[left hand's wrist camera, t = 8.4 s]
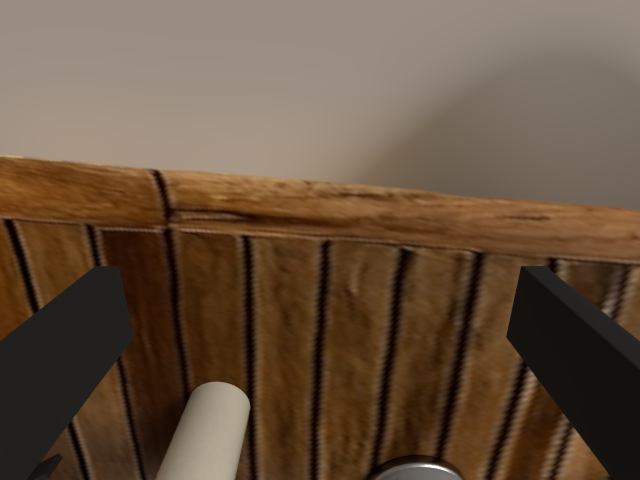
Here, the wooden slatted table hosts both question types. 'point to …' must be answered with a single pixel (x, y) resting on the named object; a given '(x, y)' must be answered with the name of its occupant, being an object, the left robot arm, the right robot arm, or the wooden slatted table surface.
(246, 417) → the bottle
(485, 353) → the wooden slatted table surface
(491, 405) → the wooden slatted table surface
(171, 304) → the wooden slatted table surface
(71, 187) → the wooden slatted table surface
